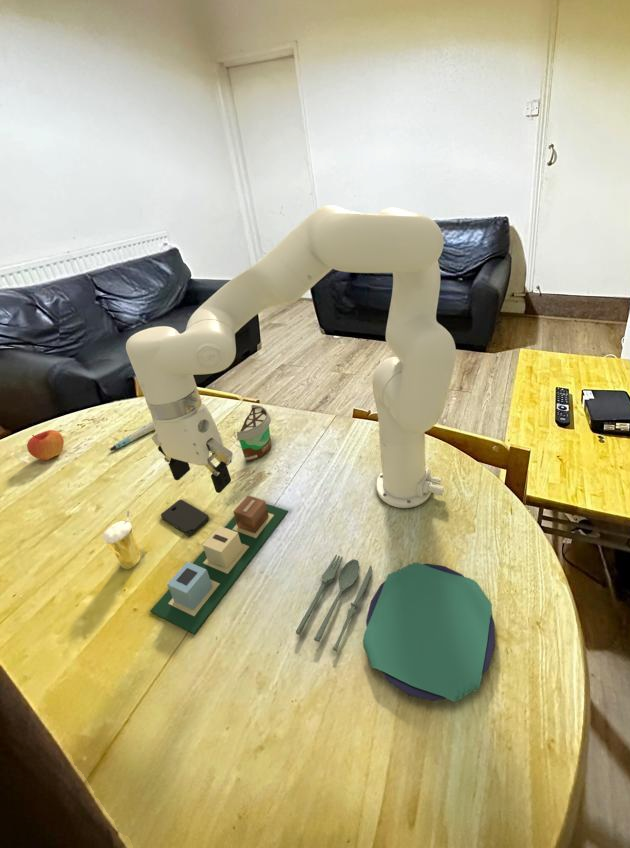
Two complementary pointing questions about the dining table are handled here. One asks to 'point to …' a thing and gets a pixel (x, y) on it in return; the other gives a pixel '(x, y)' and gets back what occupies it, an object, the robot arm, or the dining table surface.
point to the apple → (46, 445)
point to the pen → (134, 436)
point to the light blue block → (190, 585)
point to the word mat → (218, 575)
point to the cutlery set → (421, 628)
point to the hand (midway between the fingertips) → (202, 480)
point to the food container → (255, 434)
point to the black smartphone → (185, 517)
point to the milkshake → (123, 543)
